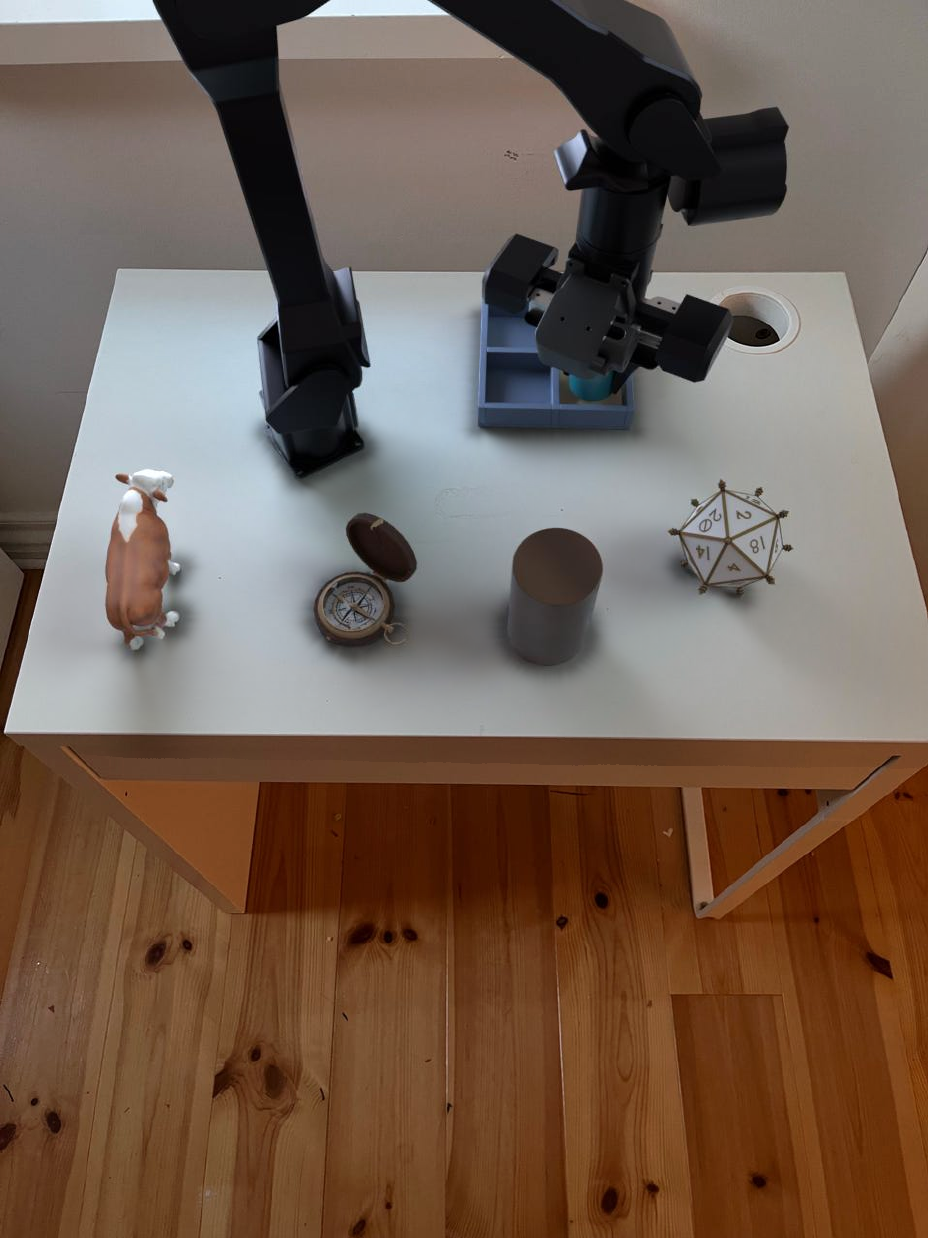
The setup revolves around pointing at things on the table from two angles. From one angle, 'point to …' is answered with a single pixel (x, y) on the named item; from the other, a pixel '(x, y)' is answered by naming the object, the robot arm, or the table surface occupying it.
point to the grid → (535, 383)
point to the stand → (553, 595)
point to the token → (592, 387)
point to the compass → (366, 584)
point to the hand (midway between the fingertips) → (591, 381)
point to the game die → (732, 539)
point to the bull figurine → (139, 559)
